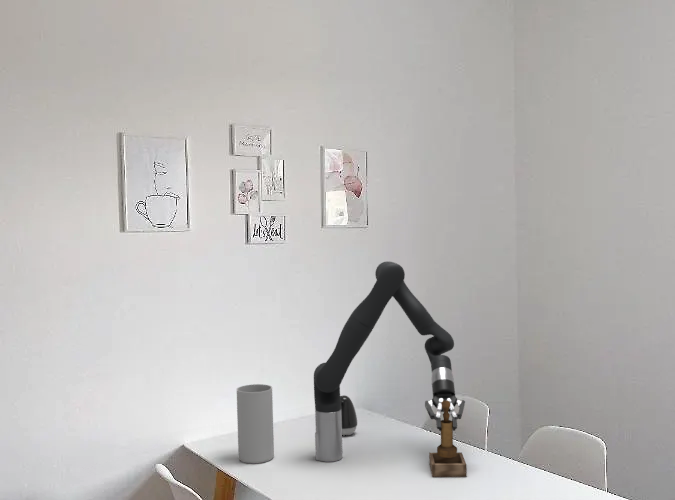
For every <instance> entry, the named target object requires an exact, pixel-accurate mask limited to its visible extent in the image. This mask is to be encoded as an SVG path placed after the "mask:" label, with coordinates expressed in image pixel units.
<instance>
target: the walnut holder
mask: <svg viewBox="0 0 675 500" xmlns="http://www.w3.org/2000/svg"><path fill="white" fill-rule="evenodd" d="M428 457H429V461H428V463H429V468H430V472H431V473H430V474H431V478H467V476H468V474H467V472H468V471H467V463H466V459H465V457H464V455H463V452H459V451H457V456H455V457H452V458H444V457H440V456H438V455H437V452H429V453H428Z"/></svg>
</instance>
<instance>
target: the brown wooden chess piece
mask: <svg viewBox="0 0 675 500" xmlns="http://www.w3.org/2000/svg"><path fill="white" fill-rule="evenodd" d="M441 406H442V408H443V410H444V412H443V414H442V418H443V419H441V431H440V444H439V445H438V446H437V447H436V451H437V452H436V453H437V455H438V456H440V457H444V458H452V457H455V456H457V452H458V448H457V446H455V444H453V443H454V442H453V441H454V435H453V434H454V433H453V432H454V431H453V422H452V419H450V417H451V415H450V413H449V412H448V410H449V408H450V406H451V405H450V402H449V401H448V400H444V401H442V403H441Z"/></svg>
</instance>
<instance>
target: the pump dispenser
mask: <svg viewBox="0 0 675 500" xmlns="http://www.w3.org/2000/svg"><path fill="white" fill-rule="evenodd" d="M340 398H341V415H342V435H343V436H342V437H346V436H345V435H348V436H350V435H352V434H354V433H355V431H356V429H357V427H358V417H357V413H356V409H355V406H354V403H353V401H352V399H351V398H350V397H349V396H348V395H345V394H344V395H340Z"/></svg>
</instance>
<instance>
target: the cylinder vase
mask: <svg viewBox="0 0 675 500" xmlns="http://www.w3.org/2000/svg"><path fill="white" fill-rule="evenodd" d="M273 402H274V400H273V387H272V386H271V385H269V384H259V383H257V384H255V383H254V384H246V385H241V386H238V387H237V388H236V409H237V410H236V412H237V413H236V414H237V418H236V419H237V444H238V445H237V447H238V452H237V453H238V459H239V460H240V461H241V462H242V463H244V464H245V463H246V464H255V465H256V464H262V463H266V462H269V461H271V460H272V459H274V457H275V443H274V440H275V439H274V437H275V436H274V408H273V407H274V403H273Z"/></svg>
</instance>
